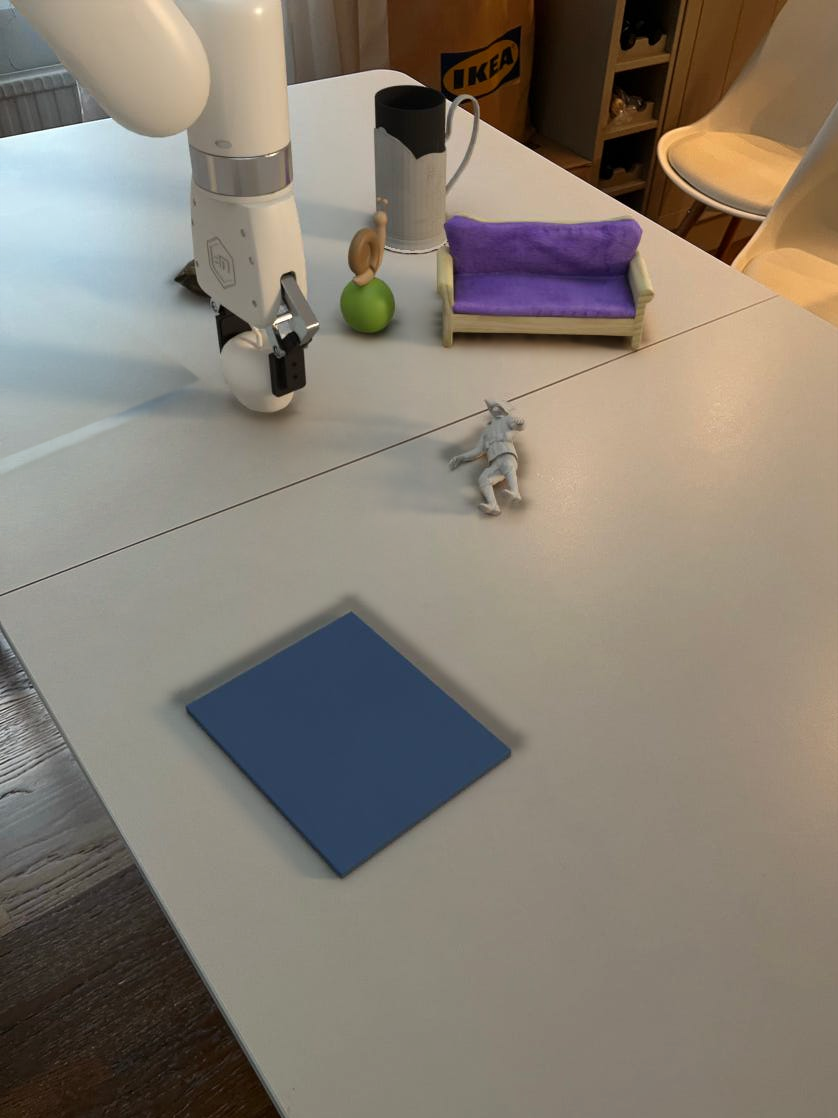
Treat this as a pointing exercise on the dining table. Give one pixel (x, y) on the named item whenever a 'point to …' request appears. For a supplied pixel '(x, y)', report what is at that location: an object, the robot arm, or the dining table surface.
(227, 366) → the plain white apple
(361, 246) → the snail figurine
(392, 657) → the blue square board
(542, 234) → the toy sofa
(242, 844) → the dining table surface
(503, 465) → the soldier figure
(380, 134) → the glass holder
